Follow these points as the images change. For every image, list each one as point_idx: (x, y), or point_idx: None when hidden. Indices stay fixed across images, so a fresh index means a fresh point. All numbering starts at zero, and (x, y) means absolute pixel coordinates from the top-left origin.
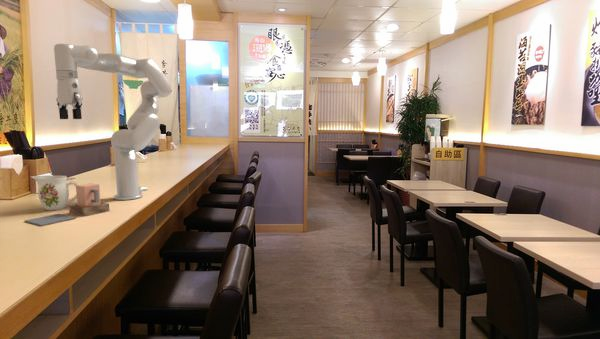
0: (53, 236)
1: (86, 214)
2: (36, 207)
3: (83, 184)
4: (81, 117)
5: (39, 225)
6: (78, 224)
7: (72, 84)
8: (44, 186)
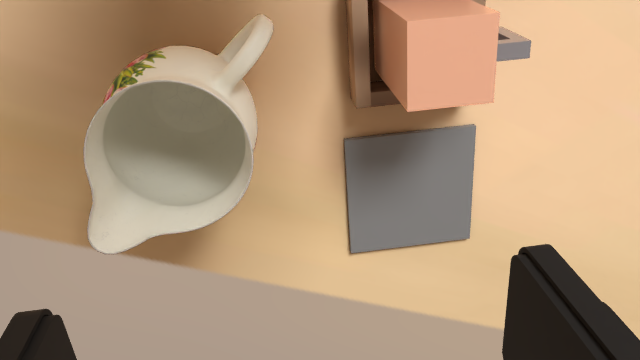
0: (614, 251)
1: None
2: None
3: (417, 71)
4: (558, 255)
5: (454, 238)
6: (561, 153)
7: None
8: (216, 195)
